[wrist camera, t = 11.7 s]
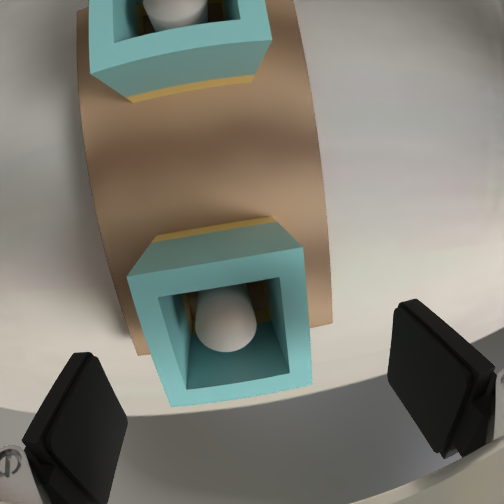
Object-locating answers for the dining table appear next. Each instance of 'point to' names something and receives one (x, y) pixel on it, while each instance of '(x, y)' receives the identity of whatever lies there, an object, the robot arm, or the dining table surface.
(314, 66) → the dining table surface
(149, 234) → the pin board
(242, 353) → the sleeve
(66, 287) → the dining table surface
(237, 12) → the seated sleeve
